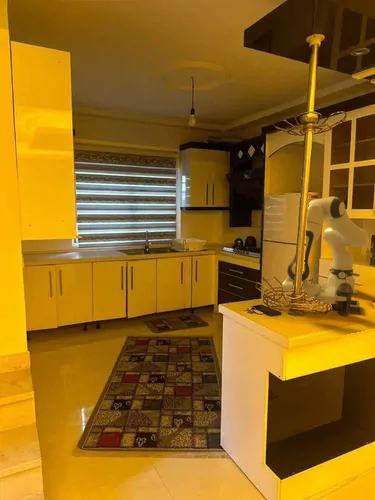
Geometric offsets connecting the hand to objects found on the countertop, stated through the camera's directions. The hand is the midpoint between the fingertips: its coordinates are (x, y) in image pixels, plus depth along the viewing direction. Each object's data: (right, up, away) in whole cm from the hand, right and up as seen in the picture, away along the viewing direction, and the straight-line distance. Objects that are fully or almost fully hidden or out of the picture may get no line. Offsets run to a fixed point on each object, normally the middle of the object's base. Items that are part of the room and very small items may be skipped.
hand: (346, 296), depth 167 cm
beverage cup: (-1, -9, +2) cm, 9 cm away
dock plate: (+5, -8, +12) cm, 15 cm away
